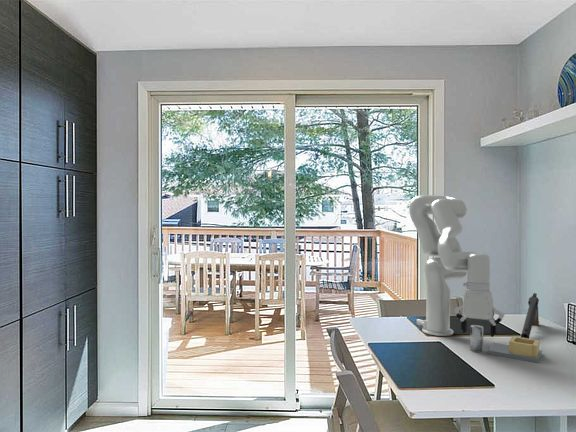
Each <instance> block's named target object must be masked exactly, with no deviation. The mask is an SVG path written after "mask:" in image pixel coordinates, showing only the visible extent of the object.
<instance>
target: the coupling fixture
mask: <svg viewBox="0 0 576 432" xmlns="http://www.w3.org/2000/svg"><path fill="white" fill-rule="evenodd" d="M487 354H489V355H492V356H493V355H494V356H498V357H505V358H509V359H515V360H520V361H526V362H531V363H535V364H538V363H539V361H540V358H541V356H542V354H543V350H540V340H537V339H533V338H529V339H528V338H522V337H521V336H512V337H510V339H509V340H508V344H504V343H500V342H493V343H492V344H491V346H489V347H488V349H487Z"/></svg>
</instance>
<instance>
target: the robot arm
mask: <svg viewBox="0 0 576 432" xmlns="http://www.w3.org/2000/svg"><path fill="white" fill-rule="evenodd" d="M408 206H409V207H408V208H409V211H408V212H409V216H410V219H411V221H412V222H413V225H414V227H415V229H416V232H417V235H418V239H419V242H420V245H421V249H422V252H423V254H424V255H425V256H426V257H431V258H429V259H428V260H426V261H425V264H424V273H425V280H426V281H425V283H426V299H425V300H426V302H425V303H426V304H425V305H426V308H425V309H426V310H425V311H426V313H425V319H424V320H423V319H419V318H418V319H417V318H416V324H417V325H419V326H423V327H421V331H422V333H425V334H427V335H430V336H431V335H432V336H437V337H449V336H453V335H454V330H453V329H452V328H451V325H450V324H451V322H450V321H451V318H450V317H451V290H450V287H449V284H447V281H457V280H462V279H464V278H465V277H466V276H467V281H466V282H464V283H463V284H462V285H463V286H462V287H464V288H466V289H465V291H464V293H463V302H462V305H459V306H457V307H455V308H453V311H454V314H455V315H456V316H455V317H457V318H458V319H459V321H460V322H461V325H460V326H461V327H460V329H461V330H462V333H463V334H464V333H467V331H468V328H467V327H468V325H467V322H468V321H467V318H468V319H473V320H474V319H476V320H484V321H489V322H490V324H491V325H490V337H491V338H493V337H494V336H495V335H496V334H497V325H498V324H500V322H501V321H502V320H503V318H505V317H504V316H505V313H504V312H502V311H501V310H499V309H497V308H496V307H495V306H494V297H493V293H492V291H490V285H491V284H490V282H491V281H490V280H491V279H490V278H491V277H490V276H491V275H490V273H491V272H490V270H491V269H490V268H491V266H490V264H491V263H490V261H491V260H490V256H489V255H488V254H486V253H480V252H479V253H478V252H475V251H463V250H462V248H461V245H460V242H459V240H458V239H457V238H456V237H457V236H458V235H460V234H461V233H462V232H463V226H462V224H461V222H460V219H463V218H464V217H465V216H466V214H467V211H468V210H467V205H466V203H465V202H464V201H463V200H462V199H461V198H457V197H452V196H448V195H434V194H433V195H430V194H429V195H428V194H422V195H417V196H413V198H412V199H411V200H410V202H409V205H408ZM429 215H432V216H433V218H434V220H435V221H434V220H433V219H432V218H431V217H429ZM437 227H438V228H437ZM438 230H439V231H438ZM461 310H462V313H460V311H461ZM495 314H497V315H498V317H497V318H496V319H495V318H494V316H495Z"/></svg>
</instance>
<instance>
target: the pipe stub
mask: <svg viewBox="0 0 576 432" xmlns="http://www.w3.org/2000/svg"><path fill="white" fill-rule="evenodd" d="M469 328H470V332H469V333H470V334H469V335H470V337H469V351H471V352H473V353H479V354H480V353H483V352H484V326H483V325H479V324H471V325H470V327H469Z"/></svg>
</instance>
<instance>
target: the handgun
mask: <svg viewBox="0 0 576 432" xmlns="http://www.w3.org/2000/svg"><path fill="white" fill-rule="evenodd" d="M537 295H538V294H537V293H536V292H534V293H533V294H532V296H530V297H529V298H528V302H527V304H528V309H527V312H526V316H525V320H524V324H523V327H522V330H521V334H520V337H522V338H528V339H530V335H531V331H532V328H533V327H532V326H534V327H539V324H540V321H539V319H540V318H539V301H540V300H539V298H538V297H537Z"/></svg>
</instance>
